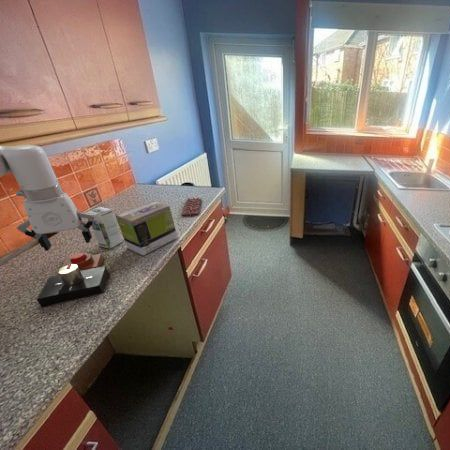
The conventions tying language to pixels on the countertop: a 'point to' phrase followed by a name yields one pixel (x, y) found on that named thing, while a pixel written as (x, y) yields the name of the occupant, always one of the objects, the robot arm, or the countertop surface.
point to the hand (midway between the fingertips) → (69, 244)
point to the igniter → (87, 262)
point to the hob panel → (73, 287)
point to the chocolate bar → (192, 207)
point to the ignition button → (77, 257)
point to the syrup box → (105, 227)
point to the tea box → (147, 227)
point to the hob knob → (70, 274)
